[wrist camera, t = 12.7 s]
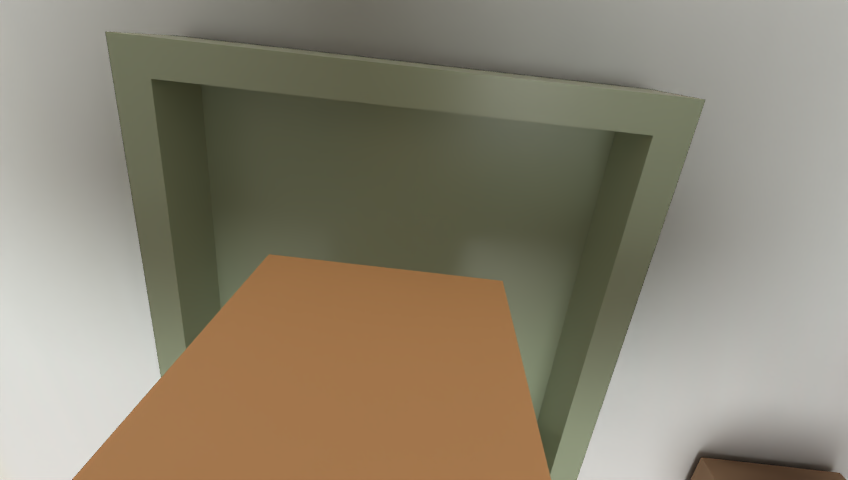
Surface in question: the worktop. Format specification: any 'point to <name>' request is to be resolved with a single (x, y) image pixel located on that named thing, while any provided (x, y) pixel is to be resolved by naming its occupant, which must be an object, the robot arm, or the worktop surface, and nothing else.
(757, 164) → the worktop surface
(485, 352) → the orange brown block
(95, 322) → the worktop surface
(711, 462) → the wood grain block
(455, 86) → the tray
